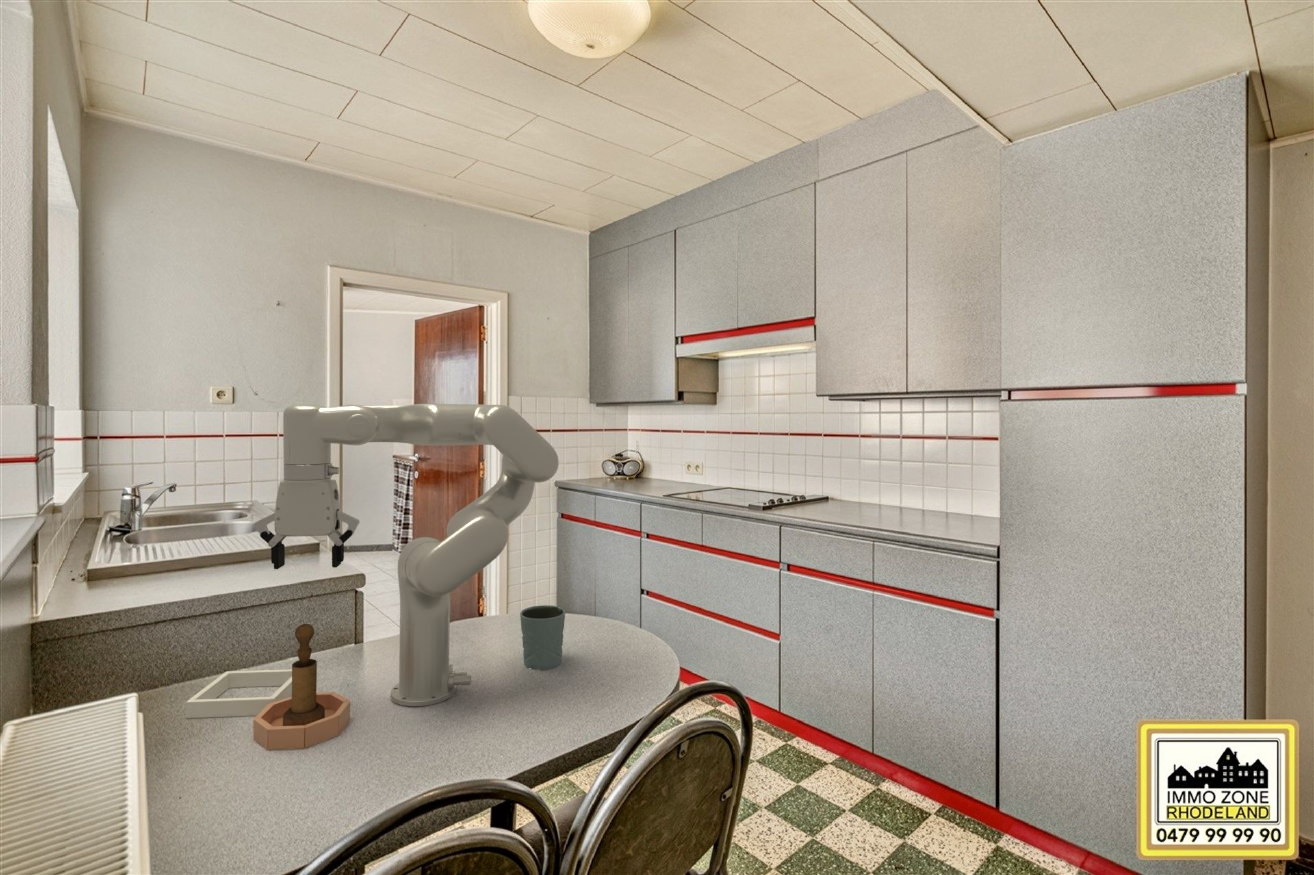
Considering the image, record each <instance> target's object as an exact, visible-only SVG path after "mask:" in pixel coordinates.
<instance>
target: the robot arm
mask: <svg viewBox="0 0 1314 875" xmlns="http://www.w3.org/2000/svg"><path fill="white" fill-rule="evenodd" d="M282 414H283V415H282V417H283V418H282V422H283V423H282V427H283V428H282V430H283V442H282V443H283V449H282V450H283V480H281V481H279V485H278V487H277V488H278V489H277V495H276V499H275V508H274V513H271V514H270V515H267V516H265V517H264V518H262V519H260V520H257V521H255V522H254V524H253V525H254V527H255V529H256V531H257V532H258V534H259V536H260V538H261V539H262V540H263V541H264V542H266V543H267V545H268V547H269V548H270V556H271V560H270V561H271V564H273V570H279V569H280V568H283V566H285V565H286V560H285V559H286V558H285V557H286V554H285V553H286V551H285V550H286V548H285V544H284V543H283V541H284V540H285V539H286V538H287V537H292V538H293V537H322V536H323V537H325V536H326V537H328V538H329V539H330V540H331V541H332V542H333V545H332V546H331V568H333V569H335V568H336V569H337V568H338V567H339V566H340V565H342V562H344V560H345V542H347V541H348V540H349V539H350V538H351V537H352V536H354V534H355V532H356V530H357V528H358V526H359V524H360V523H361V522H360V519H358V518H356V517H353V516H351V515H349V514H347V513H346V512H344V511H341V510H342V509H341V502H340V501H341V500H340V494H339V489H338V484H337V480H336V479H332V477H333V476H334V475H339V473H340V467H339V466H334V465H333V463H332V461H331V460H332V457H331V456H332V455H331V454H332V452H331V451H332V450H331V449H332V448H331V444H337V445H346V446H347V445H348V446H363V445H366V444H367V443H401V444H408V445H414V446H428V447H429V446H430V447H433V446H434V447H438V446H439V447H440V446H441V447H442V446H482V445H483V446H484V445H485V446H486V445H488V446H493V447H494V448H495V449H497V451H499V453H501V455H502V458H501V472H500V476H499V478H498V480H497V481H496V483H495V484H494V485H493V486H492V487H491V488H489V489H488V490H487V491H486V492H485V493H483V494H482V495H480V496H479V497H477V498H476V499H475V500H473V501H472V502H471V503H469V504H468V505H466V506H465V507H463V508H462V509H460V510H459V511H458V512H455V514H454V515H453V516H451V517H450V520H448V523H447V525H446V536H447V537H446V538H444V539H443V540H442V541H440V540H438V539H436V538H433V537H428V536H424V537H423V536H422V537H418V538H415V539H412V540H411V541H409V542H408V543H406V544H405V545H404V547H403V548H402V549H401V552H400V553H399V557H398V560H397V579H398V589H399V661H398V663H399V664H398V666H399V667H398V668H399V669H398V671H399V672H398V673H399V674H398V677H399V678H398V681H399V682H398V683H396V684H395V685H394V686H393V687H392V688H391V690H390V699H391V701H392V702H394V703H395V704H398V705H400V706H405V707H406V706H407V707H425V706H430V705H434V704H438V703H441V702H443V701H446V700H448V699H449V698H451V697H452V696H454V695H455V693H456V692H457V691H458V690H457V689H458V686H471V683H472V675H471V674H469V675H468V672H467V671H460V672H459V671H458V672H456V671H455V670H454V668H453V666H454V665H453V664H450V639H451V637H450V632H451V631H450V627H451V626H450V623H451V622H450V620H451V619H450V617H451V600H450V599H451V598H450V596H451V595H450V594H451V593H452V592H454V591H456V590H457V589H458V588H460V587H462V586H463V585H464V584H465V583H467V582H468V581H469V580H471V579H472V578H473V577H474V576H476V575H477V574H478V573H479V572H481V571H482V570H484V569H485V568H486V567H487V566H488V565H489V564H491V563H492V562H493V561H495V560H496V559H497V558H498V557H499V556H500V555H501V553H502V552H503V551H504V549H505V547H506V545H507V543H508V540H509V528H508V527H509V525H510V524H511V523H513V522H514V521H515V520H516V519H517V518H519V516H521V515H522V514H523V513H524V512H525V511H526V509H527V508H528V506H529V505H530V502H531V500H532V497H533V494H534V490H535V484H536V483H537V484H538V483H545V482H547V481H549V480H551V479H552V478H553V477H554V476H555V475H556V473H557V472H558V469H559V464H560V463H559V462H560V461H559V456H558V454H557V452H556V450H555V448H554V447H553V446H552V444H550V443H549V441H548V440H546V438H544V437H543V436H542V435H541V434H540V433H539V432H538V431H537V430H536V429H535V428H534V427H533V426H532V425H531V424H530V423H529V422H528V421H527V420H526V419H525V418H524V417H522V416H521V415H520V414H519V413H518V411H516V410H515V409H513V408H511V407H510V406H507V405H504V404H473V403H471V404H469V403H468V404H467V403H466V404H465V403H460V404H458V403H416V404H407V405H362V404H361V405H360V404H344V405H340V406H332V407H331V406H329V407H326V406H323V405H312V404H311V405H310V404H309V405H306V404H305V405H304V404H303V405H301V404H298V405H297V404H295V405H294V404H293V405H290V406H287V407H285V408H284V410H283V412H282ZM273 522H274V532H275V534H274V533H273V532H272V531H271V530H269V527H268V525H269V524H270V523H273ZM342 522H343V523H345V524H347V525H348V526H347V528H346V530H345V531H344V533H342V532H341V530H340V529H341V527H342Z"/></svg>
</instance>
